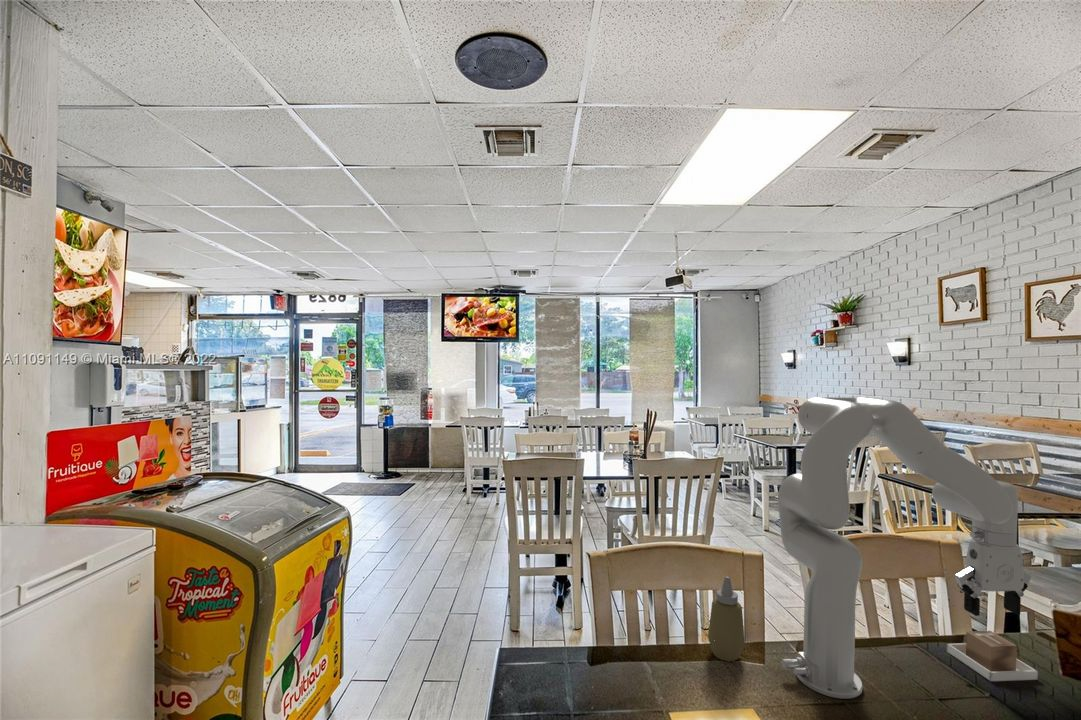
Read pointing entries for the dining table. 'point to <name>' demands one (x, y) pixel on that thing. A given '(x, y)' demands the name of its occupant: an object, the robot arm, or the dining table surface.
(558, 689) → the dining table surface
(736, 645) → the squeeze bottle
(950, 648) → the tray
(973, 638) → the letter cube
